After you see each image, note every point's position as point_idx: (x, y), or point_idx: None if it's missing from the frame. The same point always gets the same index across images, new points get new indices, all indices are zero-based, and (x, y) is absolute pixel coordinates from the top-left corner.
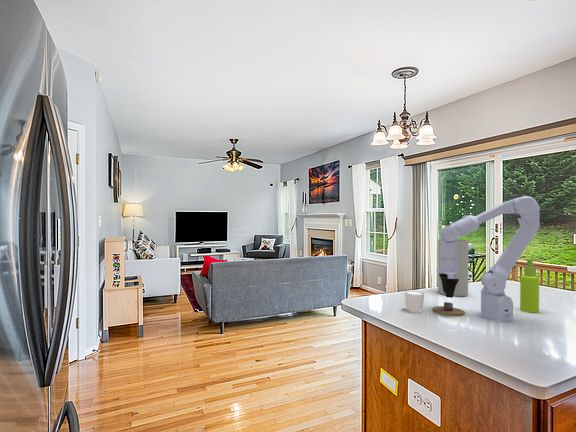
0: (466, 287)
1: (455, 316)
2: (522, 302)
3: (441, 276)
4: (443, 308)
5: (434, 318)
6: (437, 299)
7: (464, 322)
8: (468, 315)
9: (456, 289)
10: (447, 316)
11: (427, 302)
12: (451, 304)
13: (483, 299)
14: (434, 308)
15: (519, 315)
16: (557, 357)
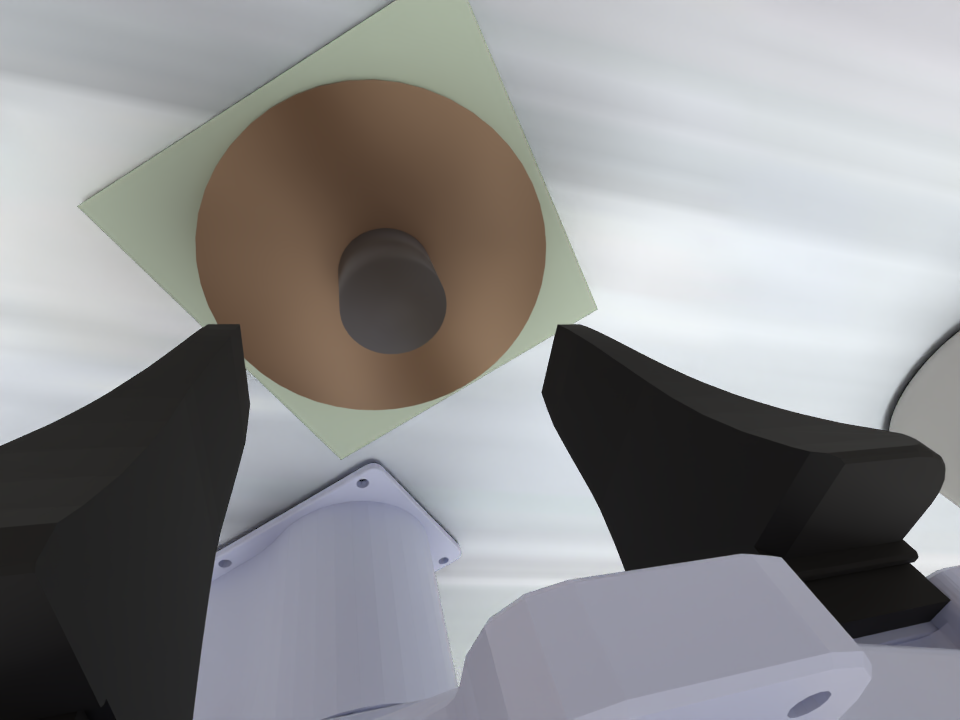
0: (952, 500)
1: (205, 310)
2: None
3: (754, 471)
4: (451, 234)
5: (5, 29)
6: (870, 243)
7: (49, 362)
8: (310, 420)
9: (953, 433)
10: (157, 226)
11: (788, 112)
12: (350, 335)
13: (306, 649)
14: (422, 121)
15: (461, 643)
16: None
